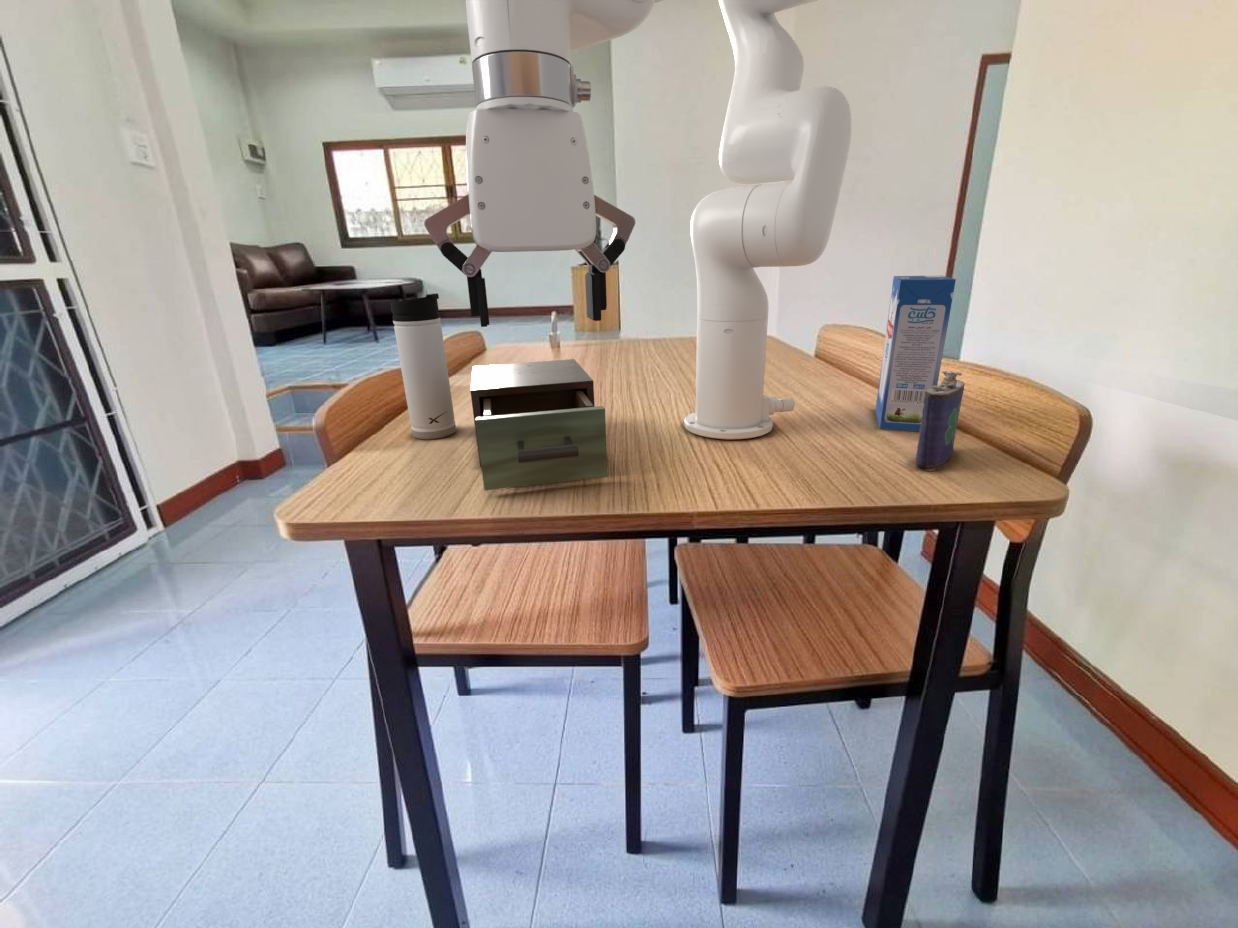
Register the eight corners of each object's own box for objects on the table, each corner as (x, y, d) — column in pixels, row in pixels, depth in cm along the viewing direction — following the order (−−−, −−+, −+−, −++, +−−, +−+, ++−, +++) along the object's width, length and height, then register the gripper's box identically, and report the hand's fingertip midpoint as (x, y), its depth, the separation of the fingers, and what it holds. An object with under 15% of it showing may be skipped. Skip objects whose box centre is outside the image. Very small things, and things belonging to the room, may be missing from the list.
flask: (932, 447, 71) (947, 363, 67) (958, 451, 69) (975, 365, 65) (909, 468, 65) (924, 376, 61) (937, 473, 63) (955, 380, 59)
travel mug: (445, 440, 80) (424, 295, 73) (404, 439, 81) (378, 296, 74) (465, 427, 86) (447, 292, 79) (426, 426, 87) (404, 293, 80)
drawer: (617, 493, 58) (614, 420, 56) (484, 509, 56) (474, 434, 53) (586, 438, 76) (583, 380, 73) (484, 448, 73) (476, 389, 71)
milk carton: (875, 410, 88) (893, 276, 80) (919, 413, 86) (942, 275, 78) (879, 428, 79) (900, 279, 72) (929, 432, 77) (956, 279, 70)
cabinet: (597, 455, 72) (593, 380, 69) (480, 467, 69) (470, 390, 66) (578, 422, 87) (574, 359, 83) (480, 431, 84) (472, 366, 80)
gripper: (620, 111, 49) (624, 314, 55) (411, 105, 45) (440, 323, 51) (644, 87, 42) (646, 321, 48) (401, 76, 38) (436, 332, 44)
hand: (540, 322), depth 49 cm, fingers open, 9 cm apart
